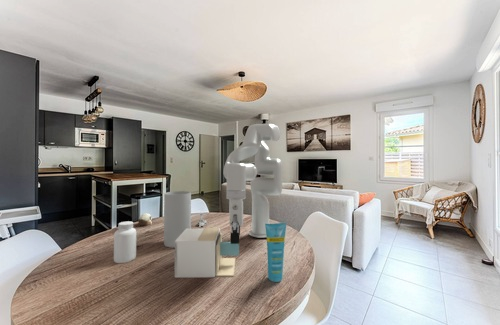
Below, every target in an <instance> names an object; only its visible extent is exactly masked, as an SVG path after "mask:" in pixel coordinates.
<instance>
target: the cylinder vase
mask: <svg viewBox="0 0 500 325" xmlns="http://www.w3.org/2000/svg"><path fill="white" fill-rule="evenodd" d="M163 196H164V198H163V201H164V202H163V203H164V204H163V208H164V209H163V245H164V246H165V247H166V248H173V249H175V240H176V239H177V238H178V237H179V236H180V235H181V234H182V233H183V232H184V231H185V229H192V192H191V191H185V190H180V191H177V190H176V191H168V192H164V194H163Z"/></svg>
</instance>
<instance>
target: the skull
mask: <svg viewBox="0 0 500 325" xmlns="http://www.w3.org/2000/svg"><path fill="white" fill-rule="evenodd" d="M152 220H153V218H152V215H151V214H150V213H147V212H145V213H142V214H141V215H140V216H139V217H138V221H137V223H136V224H134V227H137V226H139V227H147V226H149V225H151V224H152V223H153V222H152Z"/></svg>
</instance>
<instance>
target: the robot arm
mask: <svg viewBox="0 0 500 325" xmlns="http://www.w3.org/2000/svg"><path fill="white" fill-rule="evenodd" d="M280 137H281V129H280V128H279V126H278V125H275V123H274V124H273V123H256V124H251V125H250V126H248V128H247V130H246V132H245V135H244V138H243V141H242V144H241V145H239V146H238V147H236V148H235V149H234V150H232V151H231V152H230V154H229V155H228V157H227V158H226V161H225V164H224V166H223V171H222V172H223V176H224V178H225V179H226V195H225V196H226V198H225V199H227V200H229V202H228V204H229V207H228V208H229V209H228V211H229V212H228V215H229V217H228V218H229V226H231V227H230V235H229V236H230V240H229V242H230V243H231V244H239V245H240V235H241V227H243V225H244V200H245V199H246V198H247V195H246V194H247V190H246V189H247V187H246V186H247V182H250V192H251V229H250V230H249V232H248V234H249V236H251V237H254V238H259V239H261V238H267V237H266V228H265V223H266V224H270V202H269V199H268V197H267V196H279V195H281V194H282V191H283V172H284V171H283V170H284V169H283V168H284V167H283V162H282V159H280V158H276V157H274V158H272V157H271V155H270V152H271V150H270V148H269V146H268V145H267V144H266V143H265V142H278V140H280ZM253 156H254V164H253V163H249V162H241V161H243V160H247V159H249V158H252V157H253ZM257 175H260V176H261V177H257ZM264 176H273V177H264Z"/></svg>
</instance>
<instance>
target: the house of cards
mask: <svg viewBox="0 0 500 325" xmlns="http://www.w3.org/2000/svg"><path fill="white" fill-rule="evenodd" d="M203 217H204V216H203V213H200V217H199V218H200V220H199V221H198V222H197V225H199V226H205V225H204V224H206V225H207V220H206V219H205V220H204V218H203ZM199 226H198V227H199ZM205 227H206V226H205Z"/></svg>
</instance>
